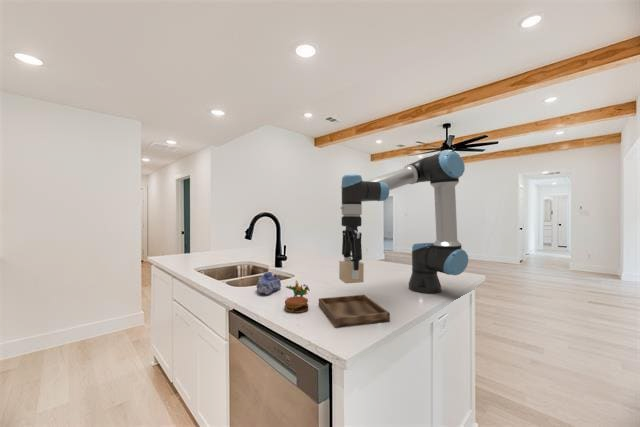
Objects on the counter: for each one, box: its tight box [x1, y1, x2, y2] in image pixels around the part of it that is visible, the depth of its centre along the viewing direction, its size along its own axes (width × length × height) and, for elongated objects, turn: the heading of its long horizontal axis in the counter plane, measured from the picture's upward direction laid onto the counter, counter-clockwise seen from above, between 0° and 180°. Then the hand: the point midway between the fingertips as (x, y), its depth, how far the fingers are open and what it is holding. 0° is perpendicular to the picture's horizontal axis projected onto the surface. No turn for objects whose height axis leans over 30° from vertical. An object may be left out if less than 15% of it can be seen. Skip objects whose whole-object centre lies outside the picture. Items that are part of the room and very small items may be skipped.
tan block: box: [338, 259, 365, 284], centre depth 103 cm, size 7×7×7 cm
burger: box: [284, 295, 309, 313], centre depth 107 cm, size 10×9×5 cm
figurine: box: [285, 280, 310, 297], centre depth 120 cm, size 3×12×8 cm, turn 69°
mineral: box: [255, 271, 282, 295], centre depth 130 cm, size 14×10×10 cm
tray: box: [318, 294, 391, 329], centre depth 103 cm, size 20×22×3 cm
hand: (351, 276), depth 103 cm, fingers closed on tan block, 7 cm apart
